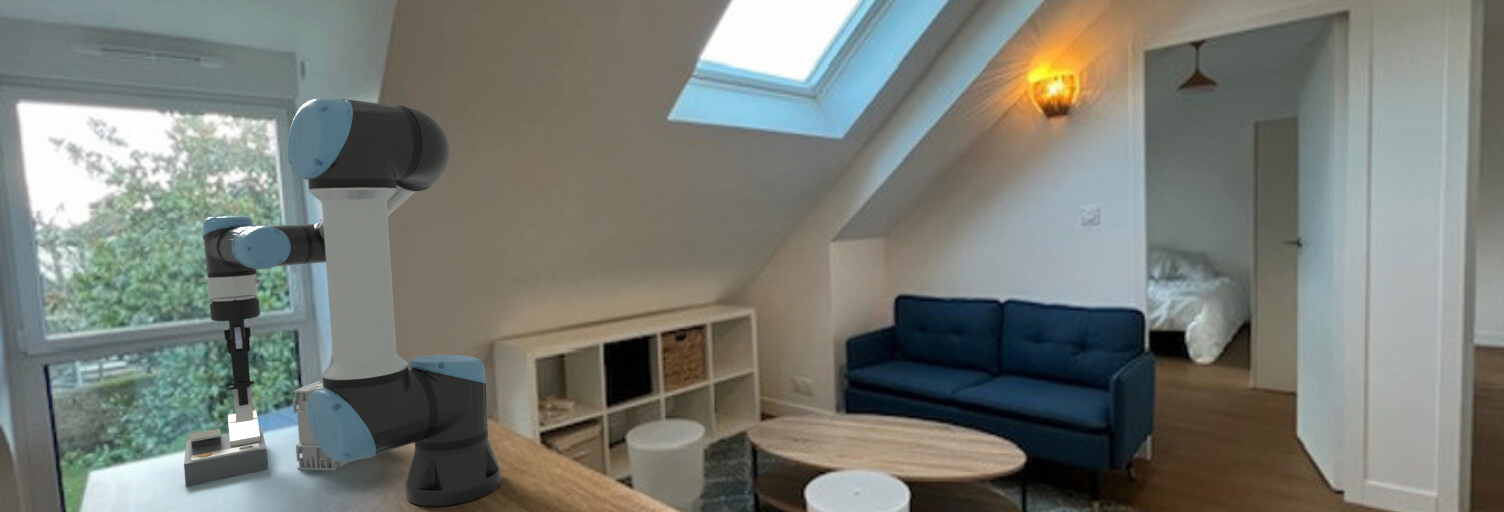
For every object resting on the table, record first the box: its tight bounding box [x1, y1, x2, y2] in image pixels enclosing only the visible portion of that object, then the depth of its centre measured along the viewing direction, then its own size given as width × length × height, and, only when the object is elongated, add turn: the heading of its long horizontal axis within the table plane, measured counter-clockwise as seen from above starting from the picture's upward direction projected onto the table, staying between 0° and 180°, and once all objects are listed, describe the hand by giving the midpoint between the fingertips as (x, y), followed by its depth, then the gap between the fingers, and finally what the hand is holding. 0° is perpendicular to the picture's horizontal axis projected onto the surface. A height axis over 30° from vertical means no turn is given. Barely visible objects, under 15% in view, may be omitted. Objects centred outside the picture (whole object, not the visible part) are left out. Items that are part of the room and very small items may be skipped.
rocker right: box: [227, 410, 260, 447], centre depth 136 cm, size 10×5×1 cm, turn 38°
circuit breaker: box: [292, 379, 349, 471], centre depth 137 cm, size 8×14×15 cm, turn 174°
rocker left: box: [187, 428, 221, 441], centre depth 133 cm, size 10×5×1 cm, turn 38°
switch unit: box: [183, 427, 269, 487], centre depth 133 cm, size 16×12×5 cm
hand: (244, 420), depth 133 cm, fingers closed
